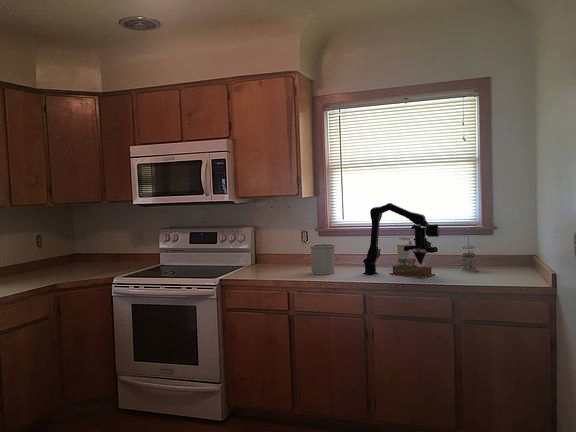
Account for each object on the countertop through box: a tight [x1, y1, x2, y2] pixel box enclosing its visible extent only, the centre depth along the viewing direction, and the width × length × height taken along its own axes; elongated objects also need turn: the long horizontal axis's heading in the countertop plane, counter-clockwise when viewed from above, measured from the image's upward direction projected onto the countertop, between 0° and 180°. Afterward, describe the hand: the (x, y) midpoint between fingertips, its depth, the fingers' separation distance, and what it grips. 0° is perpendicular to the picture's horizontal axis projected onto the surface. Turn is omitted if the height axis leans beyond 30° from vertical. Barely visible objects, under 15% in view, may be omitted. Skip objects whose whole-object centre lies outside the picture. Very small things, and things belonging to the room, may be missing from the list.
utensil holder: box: [310, 242, 335, 276], centre depth 296 cm, size 15×15×18 cm
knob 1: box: [397, 257, 407, 266], centre depth 283 cm, size 5×5×5 cm
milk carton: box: [396, 237, 414, 265], centre depth 302 cm, size 7×7×19 cm
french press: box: [460, 227, 479, 273], centre depth 284 cm, size 10×12×25 cm
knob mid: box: [407, 257, 417, 267], centre depth 278 cm, size 5×5×5 cm
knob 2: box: [415, 262, 427, 268], centre depth 274 cm, size 5×5×5 cm
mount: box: [388, 264, 436, 279], centre depth 279 cm, size 12×23×5 cm, turn 43°
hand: (420, 264), depth 274 cm, fingers closed, pressing on knob 2
